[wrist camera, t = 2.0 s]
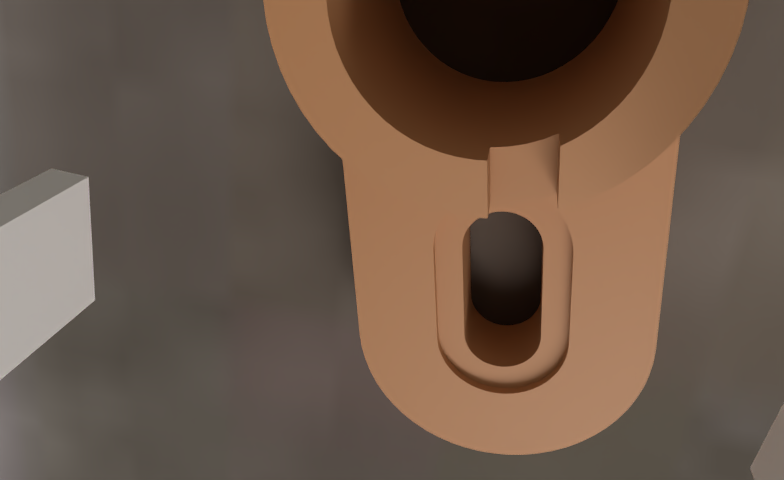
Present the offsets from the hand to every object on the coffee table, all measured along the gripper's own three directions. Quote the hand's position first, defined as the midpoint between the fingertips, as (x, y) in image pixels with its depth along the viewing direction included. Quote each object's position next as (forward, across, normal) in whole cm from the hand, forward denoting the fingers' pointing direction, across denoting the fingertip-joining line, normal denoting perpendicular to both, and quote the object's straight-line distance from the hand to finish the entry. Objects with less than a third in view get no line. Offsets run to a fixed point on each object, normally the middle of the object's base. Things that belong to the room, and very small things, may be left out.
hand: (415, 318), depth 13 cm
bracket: (+9, +1, +1) cm, 9 cm away
